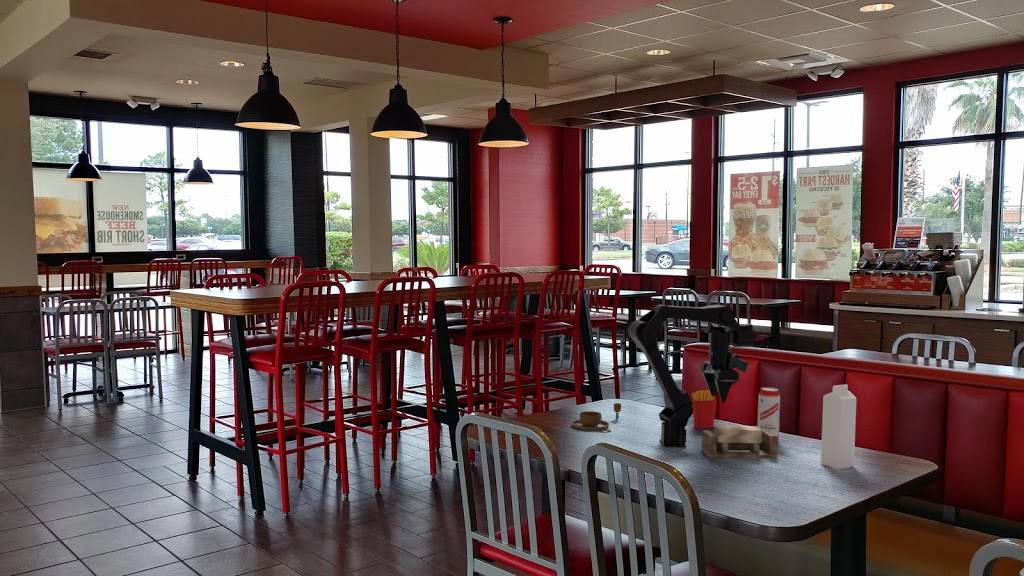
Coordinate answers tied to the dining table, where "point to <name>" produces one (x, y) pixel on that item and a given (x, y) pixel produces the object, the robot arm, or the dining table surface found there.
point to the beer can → (769, 410)
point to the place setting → (594, 419)
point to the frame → (739, 447)
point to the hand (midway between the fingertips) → (718, 399)
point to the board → (738, 434)
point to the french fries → (703, 409)
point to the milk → (838, 428)
